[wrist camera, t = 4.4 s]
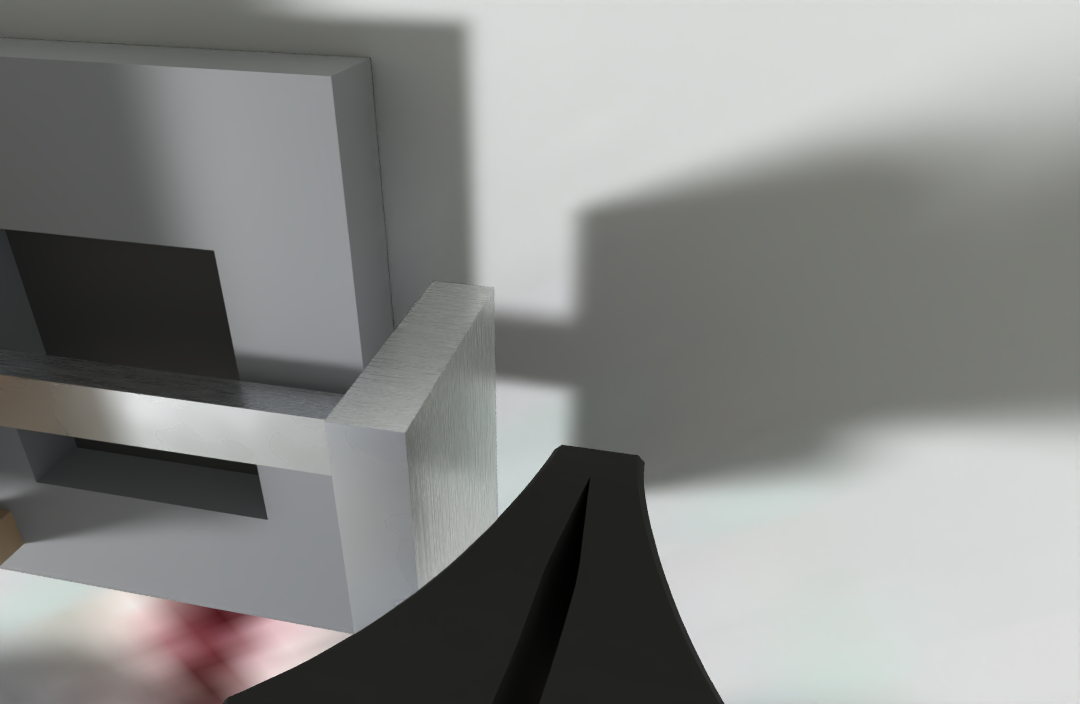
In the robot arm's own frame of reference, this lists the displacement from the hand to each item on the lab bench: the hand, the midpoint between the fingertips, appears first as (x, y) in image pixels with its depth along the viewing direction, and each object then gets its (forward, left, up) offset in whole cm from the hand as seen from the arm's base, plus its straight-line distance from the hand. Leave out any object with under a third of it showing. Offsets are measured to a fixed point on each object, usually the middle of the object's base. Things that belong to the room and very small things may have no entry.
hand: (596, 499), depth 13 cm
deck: (+16, 0, -3) cm, 16 cm away
